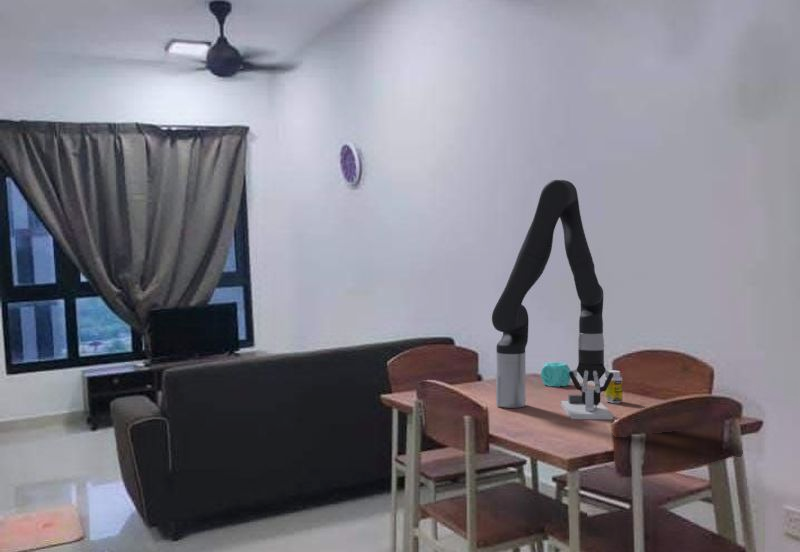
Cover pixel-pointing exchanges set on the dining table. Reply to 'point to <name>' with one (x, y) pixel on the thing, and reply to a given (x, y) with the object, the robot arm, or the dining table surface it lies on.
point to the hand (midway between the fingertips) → (591, 404)
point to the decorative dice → (555, 374)
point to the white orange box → (590, 399)
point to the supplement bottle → (614, 388)
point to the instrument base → (577, 409)
